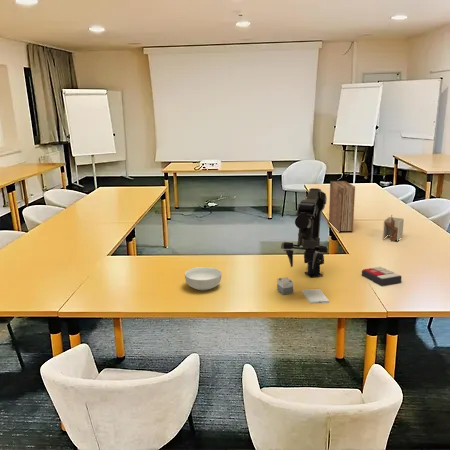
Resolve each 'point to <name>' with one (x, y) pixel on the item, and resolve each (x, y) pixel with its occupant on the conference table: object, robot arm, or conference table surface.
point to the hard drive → (315, 296)
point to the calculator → (381, 276)
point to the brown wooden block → (341, 205)
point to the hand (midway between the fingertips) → (302, 268)
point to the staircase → (393, 228)
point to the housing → (285, 286)
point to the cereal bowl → (203, 278)
